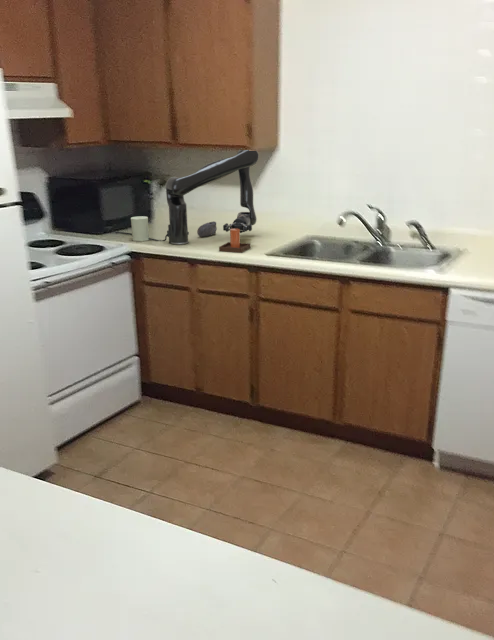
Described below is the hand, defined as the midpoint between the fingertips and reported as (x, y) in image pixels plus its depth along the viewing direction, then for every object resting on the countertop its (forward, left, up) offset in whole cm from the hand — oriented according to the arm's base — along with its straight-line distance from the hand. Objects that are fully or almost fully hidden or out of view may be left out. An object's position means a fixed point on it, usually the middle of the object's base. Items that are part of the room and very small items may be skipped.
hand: (235, 230), depth 331 cm
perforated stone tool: (-27, +26, -10) cm, 39 cm away
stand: (0, -1, -9) cm, 10 cm away
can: (-57, +6, -10) cm, 58 cm away
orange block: (0, -1, -8) cm, 9 cm away
